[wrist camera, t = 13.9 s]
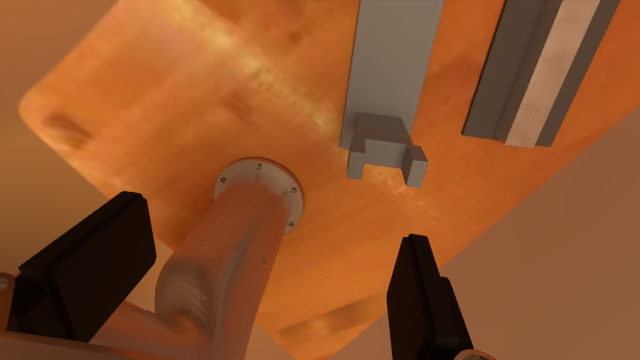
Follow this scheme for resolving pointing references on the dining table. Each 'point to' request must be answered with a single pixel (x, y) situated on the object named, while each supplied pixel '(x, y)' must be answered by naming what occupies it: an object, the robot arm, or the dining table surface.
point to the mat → (507, 58)
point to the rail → (544, 69)
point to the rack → (388, 85)
